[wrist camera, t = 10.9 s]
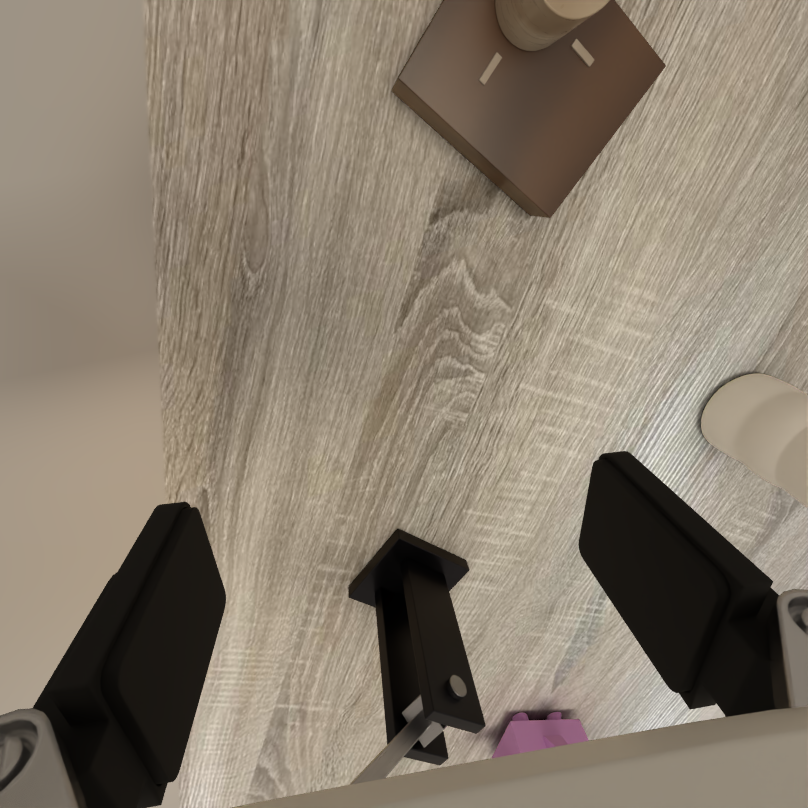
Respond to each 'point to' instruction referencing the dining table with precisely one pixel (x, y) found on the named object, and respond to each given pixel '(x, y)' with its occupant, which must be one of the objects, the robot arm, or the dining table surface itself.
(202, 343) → the dining table surface
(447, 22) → the tap panel
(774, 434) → the water bottle
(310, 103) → the dining table surface
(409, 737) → the faucet lever
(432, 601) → the black lever stand
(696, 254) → the dining table surface
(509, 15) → the tap knob
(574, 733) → the teapot
